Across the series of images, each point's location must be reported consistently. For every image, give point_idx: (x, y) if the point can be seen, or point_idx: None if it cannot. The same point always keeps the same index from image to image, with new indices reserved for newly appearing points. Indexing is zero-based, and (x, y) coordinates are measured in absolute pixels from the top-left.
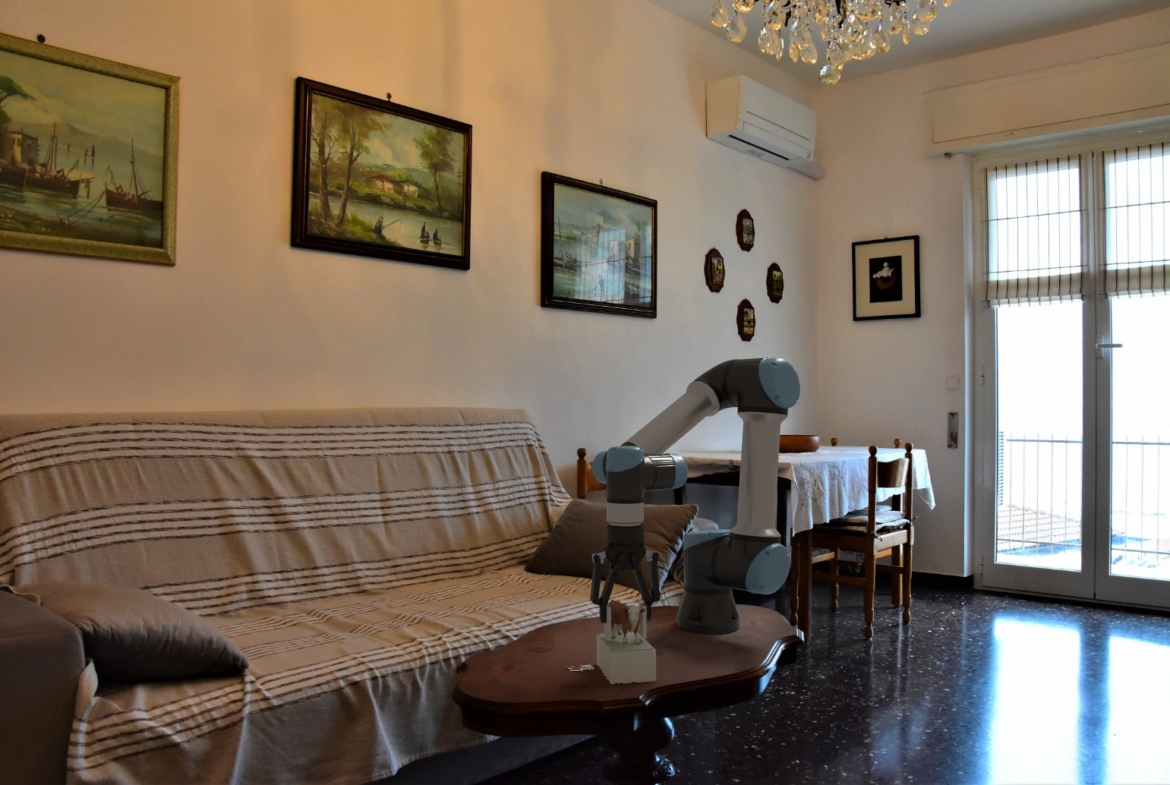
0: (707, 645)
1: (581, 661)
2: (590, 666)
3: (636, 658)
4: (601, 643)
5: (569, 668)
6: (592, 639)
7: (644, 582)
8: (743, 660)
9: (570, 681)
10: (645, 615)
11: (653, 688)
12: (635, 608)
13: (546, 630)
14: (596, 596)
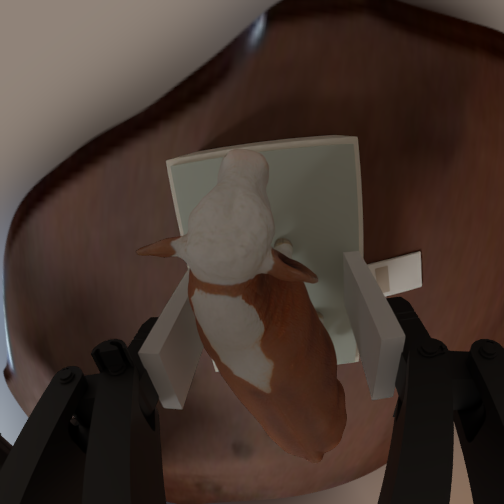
0: None
1: None
2: None
3: (249, 145)
4: None
5: (419, 276)
6: None
7: (87, 480)
8: (25, 291)
9: (435, 179)
10: (162, 320)
11: (213, 90)
12: (209, 229)
13: (372, 467)
14: (499, 375)
